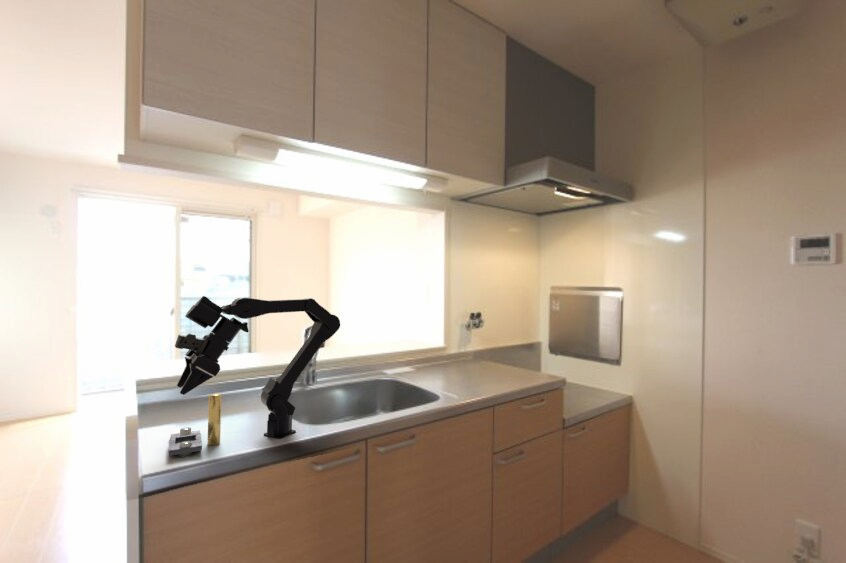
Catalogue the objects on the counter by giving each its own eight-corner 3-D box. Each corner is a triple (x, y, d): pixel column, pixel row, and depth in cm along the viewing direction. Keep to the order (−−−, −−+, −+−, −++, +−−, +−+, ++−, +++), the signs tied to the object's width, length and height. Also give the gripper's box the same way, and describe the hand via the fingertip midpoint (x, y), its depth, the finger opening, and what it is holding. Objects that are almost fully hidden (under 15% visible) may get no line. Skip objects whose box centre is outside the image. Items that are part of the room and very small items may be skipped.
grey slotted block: (170, 438, 111) (171, 427, 111) (199, 434, 114) (199, 424, 114) (168, 460, 96) (168, 448, 96) (201, 455, 100) (202, 443, 100)
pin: (214, 441, 109) (216, 393, 110) (222, 443, 108) (224, 394, 108) (204, 445, 106) (206, 395, 107) (212, 446, 105) (214, 396, 106)
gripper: (188, 319, 111) (148, 368, 106) (196, 323, 96) (150, 381, 90) (224, 340, 116) (187, 388, 111) (237, 347, 101) (195, 404, 96)
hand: (180, 390), depth 102 cm, fingers open, 9 cm apart
